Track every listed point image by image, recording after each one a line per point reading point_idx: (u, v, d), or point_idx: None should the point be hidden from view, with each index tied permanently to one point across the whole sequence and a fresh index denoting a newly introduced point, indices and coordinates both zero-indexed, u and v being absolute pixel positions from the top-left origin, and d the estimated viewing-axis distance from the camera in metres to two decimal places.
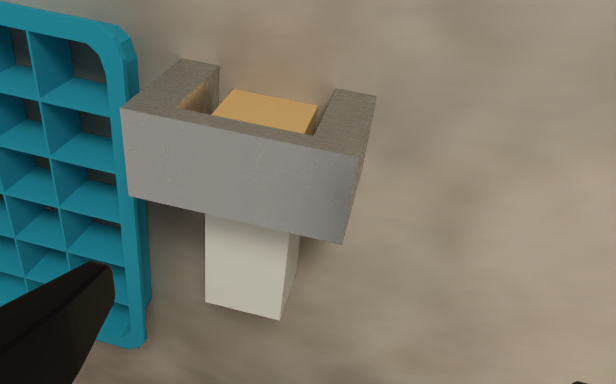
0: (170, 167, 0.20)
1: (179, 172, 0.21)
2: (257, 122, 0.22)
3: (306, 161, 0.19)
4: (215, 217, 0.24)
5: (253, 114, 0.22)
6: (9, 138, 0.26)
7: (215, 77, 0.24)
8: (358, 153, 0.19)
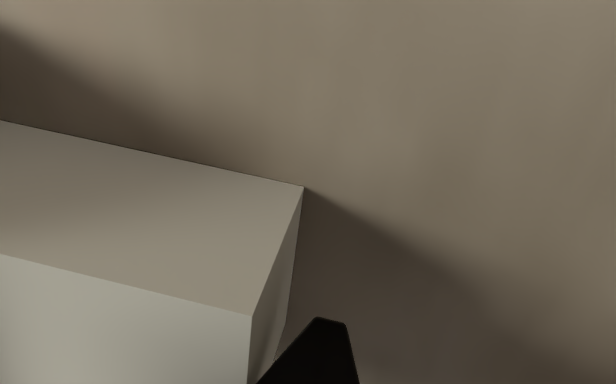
0: None
1: None
2: None
3: None
4: None
5: None
6: None
7: None
8: None
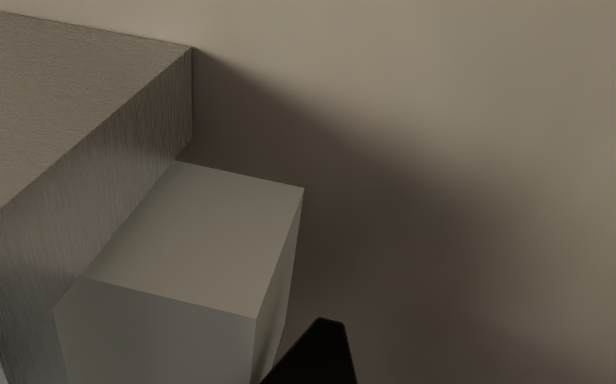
0: None
1: None
2: None
3: None
4: None
5: None
6: None
7: None
8: None
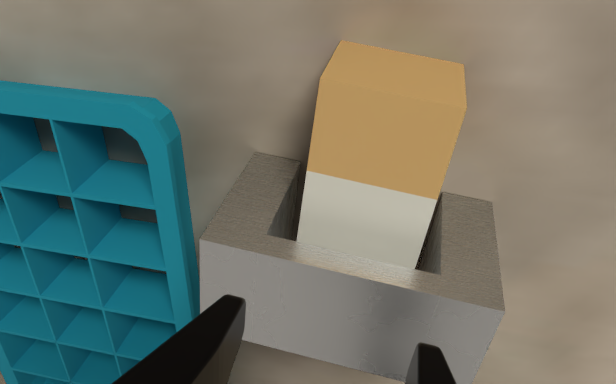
0: (256, 304, 0.17)
1: (267, 309, 0.17)
2: (393, 82, 0.15)
3: (435, 310, 0.15)
4: (314, 220, 0.17)
5: (383, 71, 0.15)
6: (41, 236, 0.23)
7: (297, 175, 0.20)
8: (502, 303, 0.15)
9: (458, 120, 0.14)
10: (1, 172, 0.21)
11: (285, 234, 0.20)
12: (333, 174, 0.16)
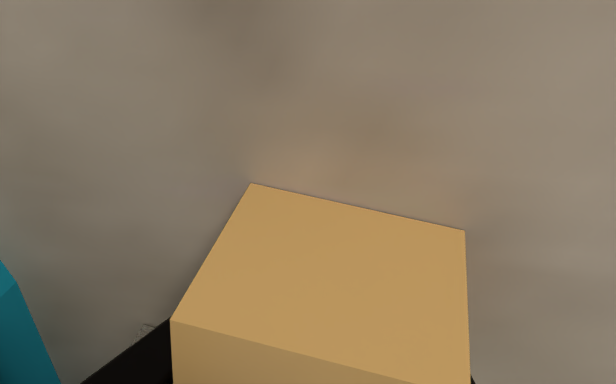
0: None
1: None
2: (325, 311, 0.07)
3: None
4: None
5: (310, 276, 0.08)
6: None
7: None
8: None
9: None
10: None
11: None
12: None
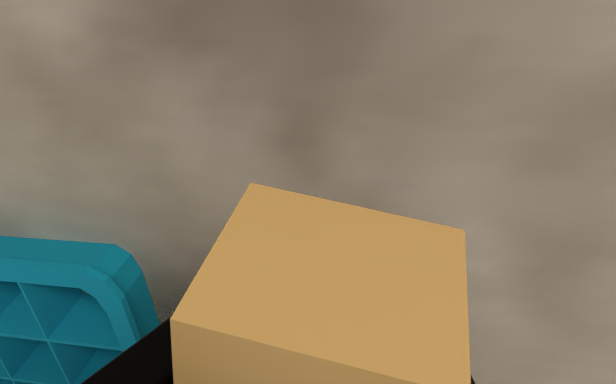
0: None
1: None
2: (325, 311, 0.07)
3: None
4: None
5: (310, 276, 0.08)
6: (29, 369, 0.24)
7: None
8: None
9: None
10: None
11: None
12: None
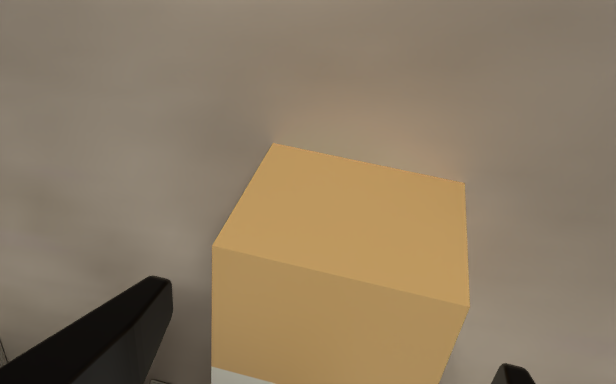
0: None
1: None
2: (344, 242, 0.09)
3: None
4: None
5: (330, 215, 0.09)
6: None
7: None
8: None
9: (455, 322, 0.08)
10: None
11: None
12: (253, 375, 0.10)
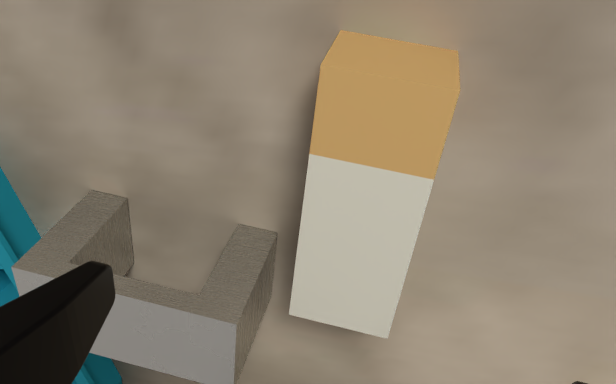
0: None
1: None
2: (391, 67, 0.16)
3: (189, 323, 0.20)
4: (317, 202, 0.18)
5: (381, 58, 0.16)
6: None
7: (123, 209, 0.24)
8: (238, 318, 0.19)
9: (452, 102, 0.15)
10: None
11: (116, 258, 0.25)
12: (334, 156, 0.17)
